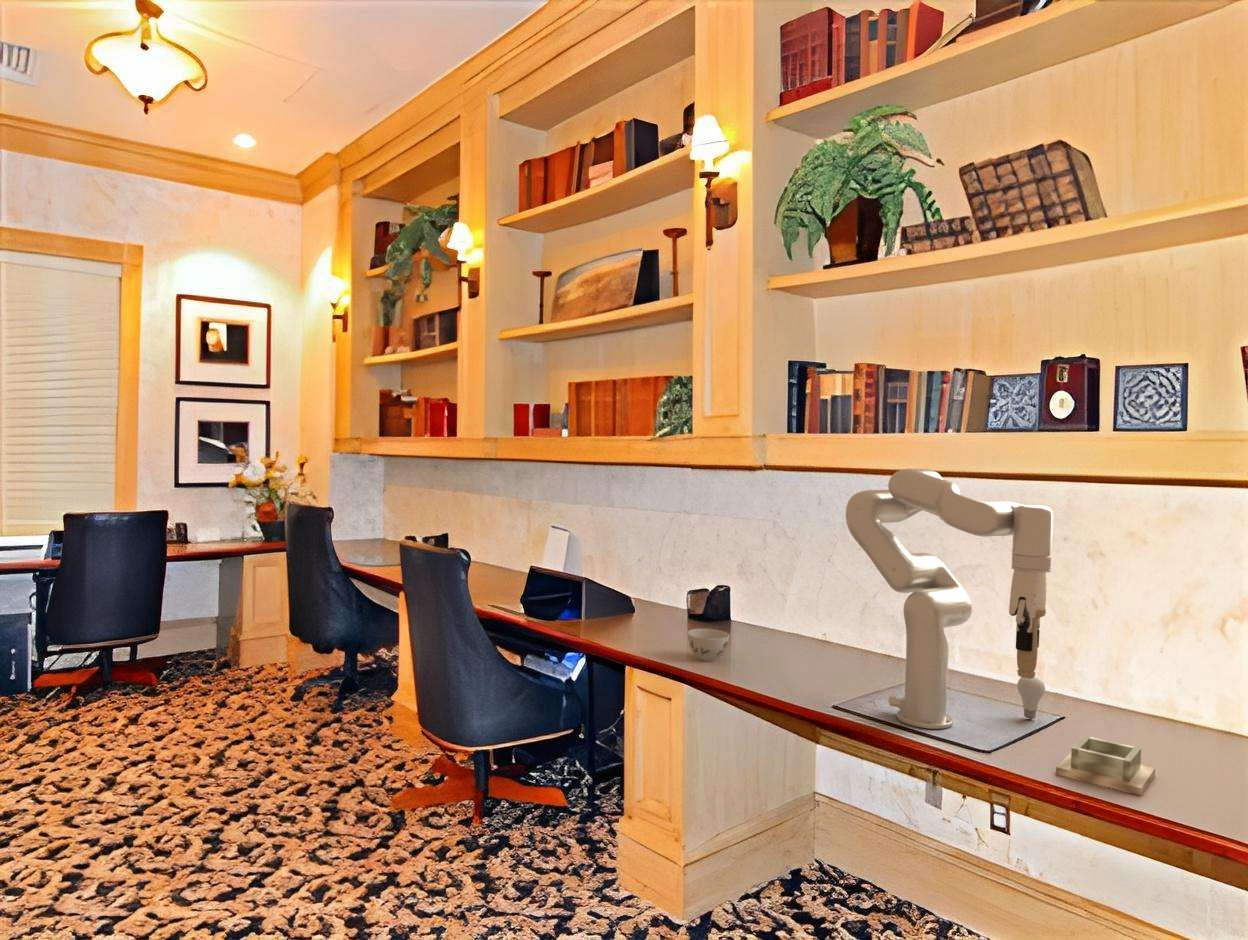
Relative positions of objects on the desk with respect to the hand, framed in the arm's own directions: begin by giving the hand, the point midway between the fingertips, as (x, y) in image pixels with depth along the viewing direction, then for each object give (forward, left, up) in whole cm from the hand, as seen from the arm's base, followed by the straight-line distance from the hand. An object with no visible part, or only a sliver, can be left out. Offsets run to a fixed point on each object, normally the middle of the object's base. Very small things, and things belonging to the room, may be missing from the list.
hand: (1027, 647), depth 184 cm
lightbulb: (-6, +27, -23) cm, 36 cm away
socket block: (+16, 0, -23) cm, 28 cm away
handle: (0, 0, -6) cm, 6 cm away
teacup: (-94, +18, -23) cm, 99 cm away
